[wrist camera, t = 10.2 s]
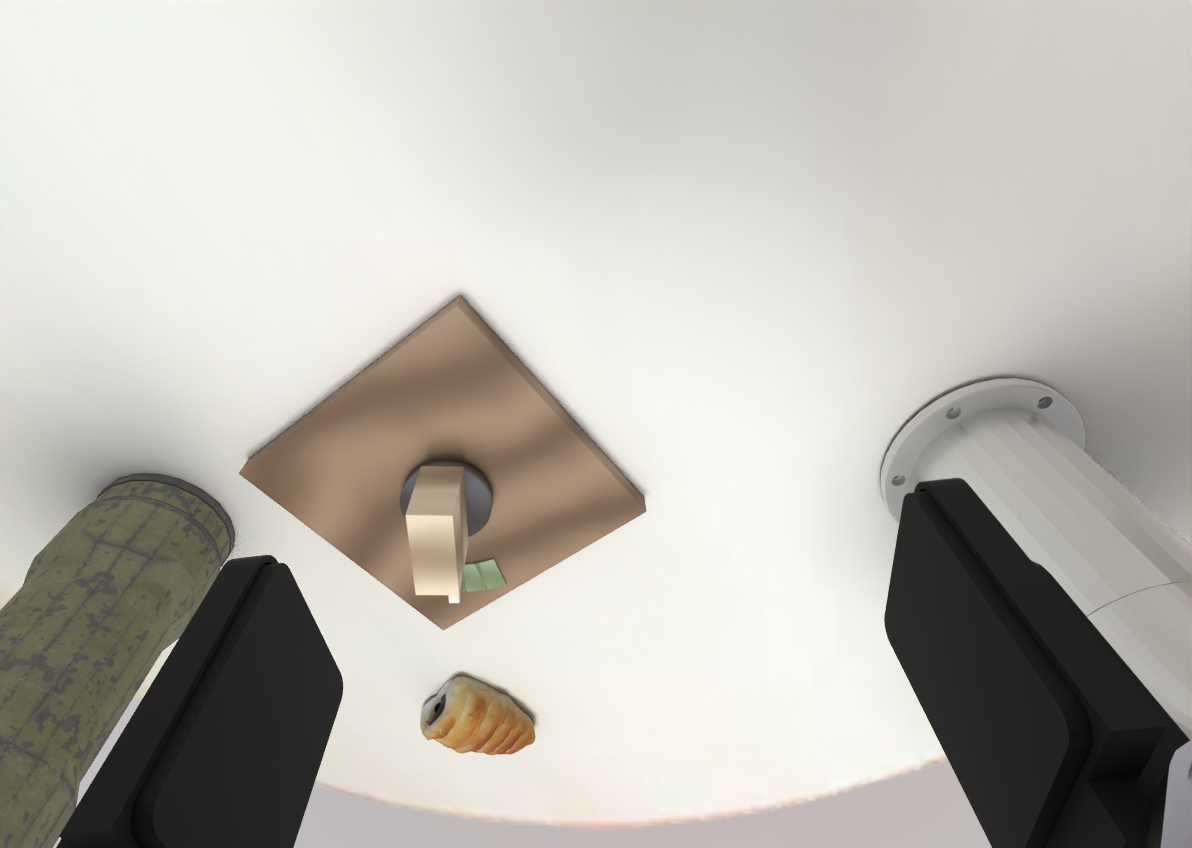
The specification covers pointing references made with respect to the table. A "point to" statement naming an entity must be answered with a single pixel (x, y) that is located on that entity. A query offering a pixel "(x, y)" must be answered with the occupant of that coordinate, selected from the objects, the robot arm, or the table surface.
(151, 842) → the robot arm
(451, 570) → the knob
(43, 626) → the thermos
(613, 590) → the table surface
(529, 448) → the wooden board
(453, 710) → the pastry
